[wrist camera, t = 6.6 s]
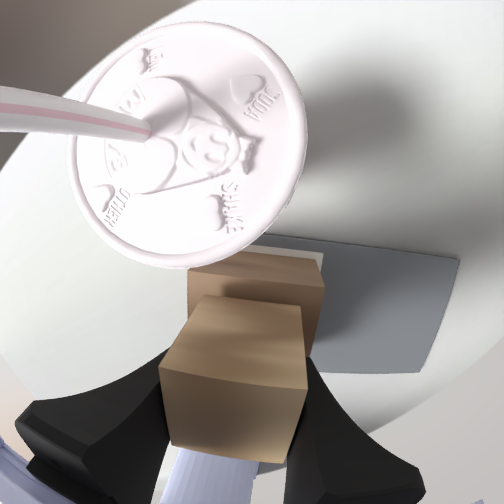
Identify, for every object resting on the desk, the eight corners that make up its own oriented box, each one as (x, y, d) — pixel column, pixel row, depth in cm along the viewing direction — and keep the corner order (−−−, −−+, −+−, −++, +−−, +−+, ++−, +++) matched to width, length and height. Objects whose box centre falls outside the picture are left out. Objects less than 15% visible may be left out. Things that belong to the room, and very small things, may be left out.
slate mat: (417, 369, 17) (419, 372, 17) (203, 354, 19) (201, 358, 18) (456, 258, 15) (460, 260, 14) (206, 227, 16) (203, 229, 16)
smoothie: (197, 94, 14) (1, -35, 1) (307, 119, 14) (402, -89, 1) (169, 197, 16) (-65, 281, 3) (275, 228, 16) (233, 471, 2)
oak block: (300, 305, 11) (307, 389, 7) (285, 378, 12) (283, 463, 8) (204, 294, 12) (158, 366, 7) (203, 367, 13) (171, 445, 8)
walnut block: (299, 347, 17) (301, 389, 13) (207, 335, 18) (189, 374, 14) (315, 259, 16) (325, 287, 12) (209, 247, 16) (187, 270, 12)
